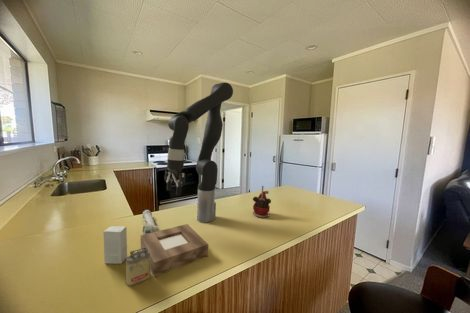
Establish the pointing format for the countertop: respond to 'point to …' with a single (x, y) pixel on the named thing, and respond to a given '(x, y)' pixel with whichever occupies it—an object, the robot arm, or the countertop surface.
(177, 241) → the pad
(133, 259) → the beige logo box
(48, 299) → the countertop surface
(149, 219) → the white flashlight
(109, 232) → the skincare box
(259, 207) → the mouse candy apple
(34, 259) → the countertop surface
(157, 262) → the holder block
